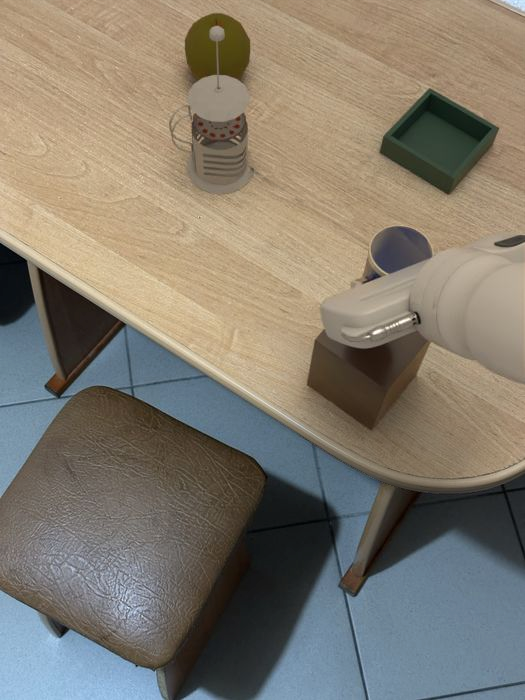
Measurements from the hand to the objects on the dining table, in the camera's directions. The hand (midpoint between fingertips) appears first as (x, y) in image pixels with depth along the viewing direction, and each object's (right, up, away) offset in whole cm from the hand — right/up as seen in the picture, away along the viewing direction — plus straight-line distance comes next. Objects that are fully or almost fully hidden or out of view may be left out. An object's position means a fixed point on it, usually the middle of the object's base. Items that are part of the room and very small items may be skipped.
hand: (390, 273), depth 84 cm
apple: (-20, +34, +45) cm, 60 cm away
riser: (0, -11, +21) cm, 24 cm away
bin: (+12, +21, +39) cm, 46 cm away
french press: (-20, +18, +36) cm, 45 cm away
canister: (0, -4, +6) cm, 7 cm away
